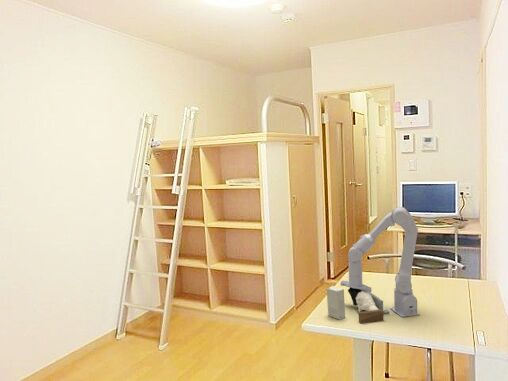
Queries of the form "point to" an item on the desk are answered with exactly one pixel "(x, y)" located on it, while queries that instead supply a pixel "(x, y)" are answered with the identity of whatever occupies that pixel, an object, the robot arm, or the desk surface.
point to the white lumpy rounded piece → (365, 302)
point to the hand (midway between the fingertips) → (355, 304)
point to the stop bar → (371, 316)
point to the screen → (378, 303)
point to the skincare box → (336, 302)
